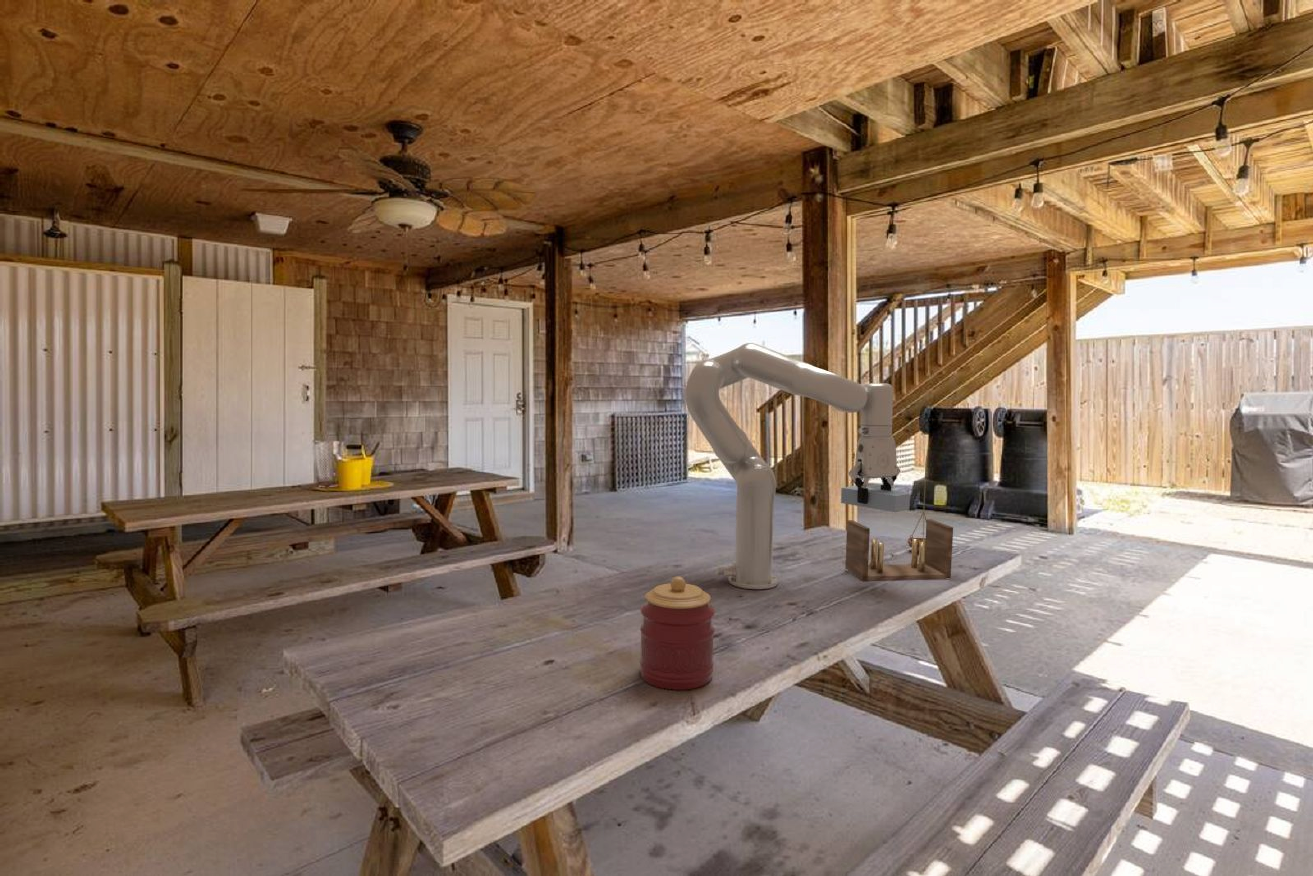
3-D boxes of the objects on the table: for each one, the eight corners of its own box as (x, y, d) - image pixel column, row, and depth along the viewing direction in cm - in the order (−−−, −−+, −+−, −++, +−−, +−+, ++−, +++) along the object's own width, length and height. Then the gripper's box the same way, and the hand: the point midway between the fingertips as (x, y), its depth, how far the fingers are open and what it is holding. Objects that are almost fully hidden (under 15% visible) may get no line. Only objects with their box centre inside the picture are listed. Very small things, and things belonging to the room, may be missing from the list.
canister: (676, 699, 112) (678, 592, 111) (624, 674, 121) (625, 575, 120) (728, 676, 121) (731, 578, 120) (676, 655, 130) (678, 563, 129)
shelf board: (909, 509, 171) (909, 493, 170) (895, 512, 167) (895, 496, 167) (855, 500, 183) (855, 485, 183) (841, 503, 180) (841, 487, 179)
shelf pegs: (878, 573, 185) (879, 543, 185) (869, 567, 191) (870, 539, 190) (925, 572, 187) (927, 543, 186) (915, 566, 193) (916, 538, 192)
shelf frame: (862, 580, 182) (864, 528, 181) (845, 569, 193) (847, 520, 192) (950, 578, 185) (953, 527, 184) (929, 567, 196) (931, 519, 195)
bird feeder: (907, 554, 212) (912, 457, 209) (906, 548, 220) (910, 454, 218) (938, 557, 209) (943, 458, 207) (936, 550, 217) (940, 455, 215)
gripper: (859, 434, 167) (857, 507, 168) (913, 432, 174) (910, 502, 176) (838, 432, 174) (837, 502, 175) (891, 430, 181) (889, 497, 182)
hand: (874, 501), depth 175 cm, fingers closed on shelf board, 6 cm apart
